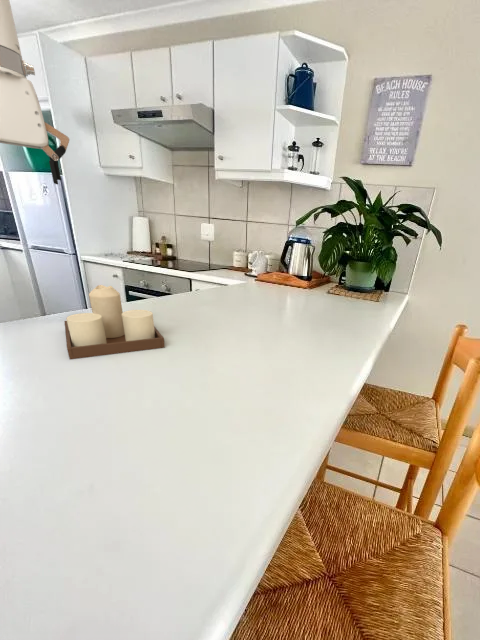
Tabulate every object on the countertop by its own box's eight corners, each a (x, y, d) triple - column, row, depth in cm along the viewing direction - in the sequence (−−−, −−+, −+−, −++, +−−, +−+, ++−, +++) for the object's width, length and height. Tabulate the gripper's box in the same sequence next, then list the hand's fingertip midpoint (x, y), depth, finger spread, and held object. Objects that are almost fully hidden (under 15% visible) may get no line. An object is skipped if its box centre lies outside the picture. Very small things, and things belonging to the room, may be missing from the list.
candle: (92, 333, 68) (82, 285, 64) (118, 328, 72) (111, 282, 68) (103, 340, 65) (94, 290, 61) (130, 335, 69) (123, 287, 65)
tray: (70, 363, 57) (67, 348, 56) (67, 333, 69) (64, 320, 68) (165, 351, 65) (164, 338, 64) (147, 326, 78) (145, 314, 76)
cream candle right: (128, 348, 63) (124, 318, 60) (124, 339, 67) (119, 310, 64) (158, 344, 66) (155, 316, 63) (152, 336, 70) (149, 308, 67)
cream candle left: (74, 355, 58) (66, 322, 55) (73, 344, 62) (65, 314, 60) (109, 350, 61) (103, 320, 58) (105, 341, 65) (100, 312, 62)
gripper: (57, 84, 63) (77, 186, 71) (-66, 55, 54) (-29, 175, 62) (58, 74, 57) (79, 186, 65) (-80, 39, 49) (-37, 173, 56)
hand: (26, 180), depth 64 cm, fingers open, 9 cm apart
